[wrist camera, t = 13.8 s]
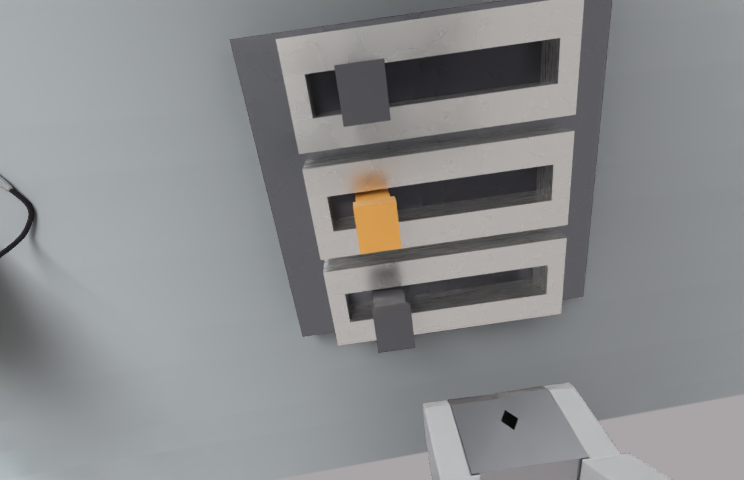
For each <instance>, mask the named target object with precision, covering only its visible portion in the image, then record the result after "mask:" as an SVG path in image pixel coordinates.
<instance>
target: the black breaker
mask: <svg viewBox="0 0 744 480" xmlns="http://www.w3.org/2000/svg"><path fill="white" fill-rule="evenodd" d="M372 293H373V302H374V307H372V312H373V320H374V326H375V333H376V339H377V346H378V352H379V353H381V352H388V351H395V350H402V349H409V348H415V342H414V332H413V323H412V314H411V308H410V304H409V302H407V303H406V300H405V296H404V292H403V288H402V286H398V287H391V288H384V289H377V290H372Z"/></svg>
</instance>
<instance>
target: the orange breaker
mask: <svg viewBox="0 0 744 480" xmlns="http://www.w3.org/2000/svg"><path fill="white" fill-rule="evenodd" d="M355 198H356V202H353V211H354V217H355V223H356V230H357V236H358V242H359V249H360V254H367V253H374V252H381V251H388V250H395V249H402V248H401V239H400V230H399V221H398V212H397V203H396V199H395V196H392V197H390V194H389V191H388V188H385V189H378V190H371V191H364V192H357V193H355Z"/></svg>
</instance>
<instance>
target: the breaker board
mask: <svg viewBox="0 0 744 480" xmlns="http://www.w3.org/2000/svg"><path fill="white" fill-rule="evenodd" d="M611 8H612V0H504V1H497V2H490V3H483V4H476V5H469V6H462V7H455V8H448V9H441V10H434V11H427V12H420V13H413V14H406V15H399V16H392V17H385V18H377V19H370V20H363V21H356V22H349V23H342V24H335V25H328V26H321V27H314V28H307V29H300V30H293V31H286V32H279V33H272V34H265V35H258V36H251V37H244V38H237V39H230V43H231V47H232V51H233V55H234V59H235V63H236V67H237V71H238V75H239V79H240V83H241V87H242V91H243V96H244V100H245V104H246V108H247V112H248V116H249V120H250V124H251V128H252V132H253V136H254V140H255V144H256V149H257V153H258V157H259V161H260V165H261V169H262V173H263V177H264V181H265V185H266V189H267V193H268V197H269V201H270V206H271V210H272V214H273V218H274V222H275V226H276V230H277V234H278V238H279V242H280V246H281V250H282V254H283V258H284V263H285V267H286V271H287V275H288V279H289V283H290V287H291V291H292V295H293V299H294V303H295V307H296V311H297V315H298V320H299V324H300V328H301V332H302V336H303V337H304V336H311V335H318V334H325V333H332V332H335V333H336V338H337V343H338V346H339V345H346V344H353V343H360V342H367V341H374V340H377V339H376V333H375V326H374V320H373V312H372V307H374V302H373V293H372V290H377V289H384V288H391V287H398V286H402V288H403V292H404V296H405V300H406V303H407V302H409V304H410V308H411V314H412V323H413V332H414V335H416V334H423V333H430V332H437V331H444V330H451V329H458V328H465V327H472V326H479V325H486V324H493V323H500V322H507V321H514V320H521V319H528V318H535V317H542V316H549V315H556V314H561V310H562V300H563V299H570V298H577V297H583V294H584V284H585V273H586V263H587V253H588V243H589V232H590V222H591V212H592V202H593V192H594V181H595V171H596V161H597V151H598V140H599V130H600V120H601V110H602V100H603V89H604V79H605V69H606V59H607V49H608V38H609V28H610V18H611ZM382 58H384V62H385V72H386V81H387V90H388V100H389V109H390V118H391V120H389V121H382V122H375V123H368V124H361V125H354V126H347V127H344V126H343V119H342V113H341V106H340V100H339V93H338V87H337V80H336V74H335V68H334V65H340V64H347V63H354V62H361V61H368V60H375V59H382ZM385 188H388V191H389V194H390V197H392V196H395V199H396V203H397V212H398V221H399V230H400V239H401V248H402V249H395V250H388V251H381V252H374V253H367V254H360V249H359V242H358V236H357V230H356V223H355V217H354V211H353V202H356V198H355V193H357V192H364V191H371V190H378V189H385Z"/></svg>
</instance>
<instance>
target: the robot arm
mask: <svg viewBox="0 0 744 480" xmlns="http://www.w3.org/2000/svg"><path fill="white" fill-rule="evenodd" d="M423 415H424V425H425V435H426V444H427V451H428V457H429V464H430V470H431V475H432V480H672V479H671V478H669V477H668V476H666V475H664V474H663V473H661V472H659V471H658V470H656V469H655V468H653V467H651V466H650V465H648V464H646V463H645V462H643V461H641V460H640V459H638V458H637V457H635V456H634V455H632V454H630V453H625V454H621V453H620V451H619V450H618V449H617V447H616V446H615V444H614V443H613V442H612V440H611V439H610V437H609V436H608V435H607V433H606V432H605V430H604V429H603V427H602V426H601V424H600V423H599V422H598V420H597V419H596V417H595V416H594V414H593V413H592V412H591V410H590V409H589V407H588V406H587V404H586V403H585V402H584V400H583V399H582V397H581V396H580V394H579V393H578V392H577V390H576V389H575V387H574V386H573V385H571V384H570V383H562V384H555V385H548V386H543V387H541V386H540V387H533V388H527V389H521V390H514V391H508V392H501V393H495V394H492V395H484V396H475V397H467V398H458V399H450V400H448V401H447V400H444V401H436V402H428V403H423Z"/></svg>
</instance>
